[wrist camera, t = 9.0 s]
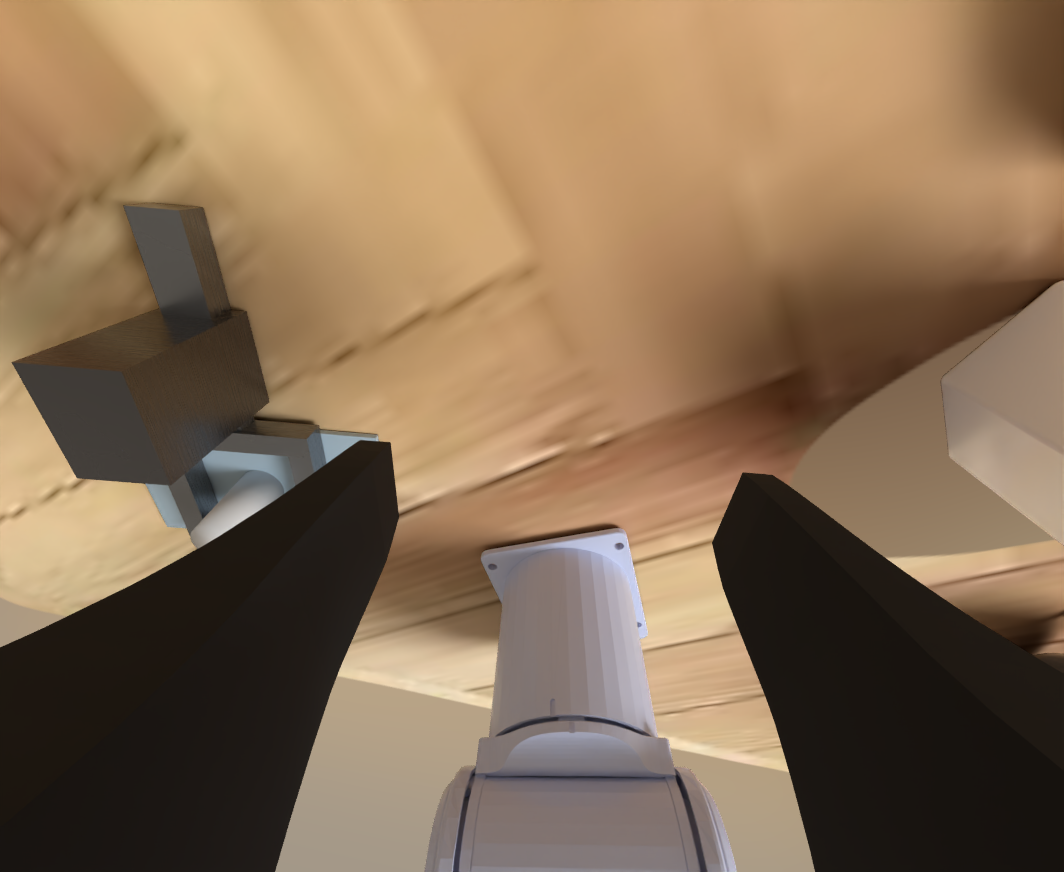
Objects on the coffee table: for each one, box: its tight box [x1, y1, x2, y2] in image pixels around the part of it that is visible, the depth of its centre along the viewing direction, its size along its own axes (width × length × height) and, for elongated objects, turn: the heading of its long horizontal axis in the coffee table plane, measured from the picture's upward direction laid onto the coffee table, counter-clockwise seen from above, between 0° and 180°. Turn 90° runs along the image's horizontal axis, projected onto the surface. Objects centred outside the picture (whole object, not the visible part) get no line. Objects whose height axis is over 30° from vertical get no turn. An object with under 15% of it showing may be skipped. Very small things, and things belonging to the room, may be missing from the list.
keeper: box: [146, 430, 379, 549], centre depth 21 cm, size 7×12×4 cm, turn 85°
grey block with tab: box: [12, 203, 326, 535], centre depth 17 cm, size 16×7×6 cm, turn 175°
